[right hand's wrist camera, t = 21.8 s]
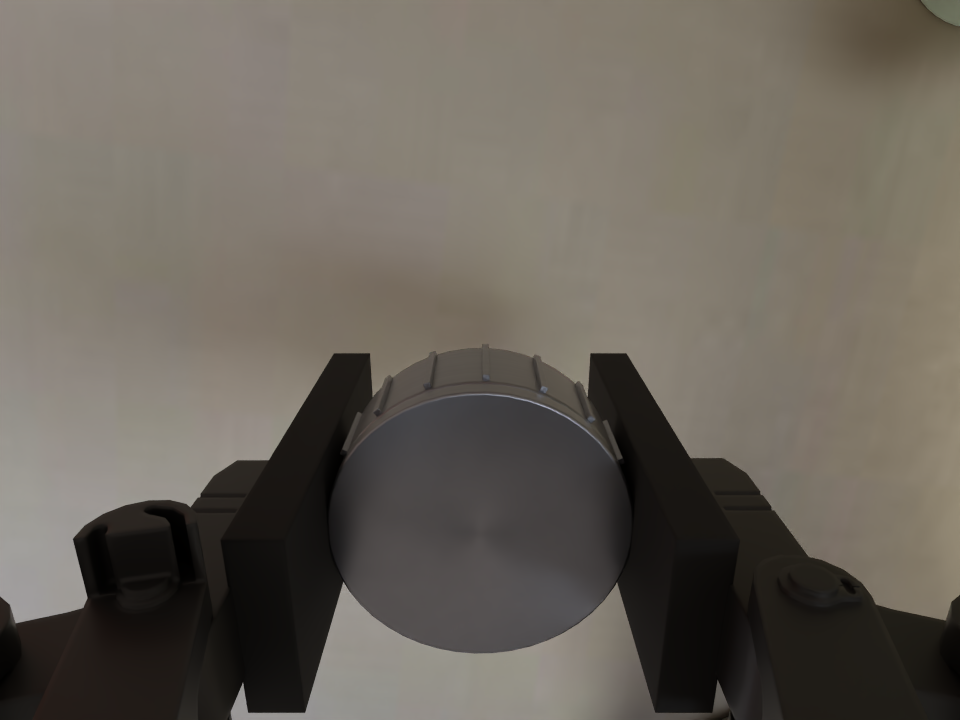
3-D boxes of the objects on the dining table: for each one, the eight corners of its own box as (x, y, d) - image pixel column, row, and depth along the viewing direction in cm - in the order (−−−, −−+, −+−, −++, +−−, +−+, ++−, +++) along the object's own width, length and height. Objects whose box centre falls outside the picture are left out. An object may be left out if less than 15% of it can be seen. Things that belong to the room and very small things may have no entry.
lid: (450, 619, 13) (445, 701, 11) (289, 440, 12) (254, 500, 10) (663, 498, 12) (695, 566, 10) (515, 287, 11) (522, 323, 9)
